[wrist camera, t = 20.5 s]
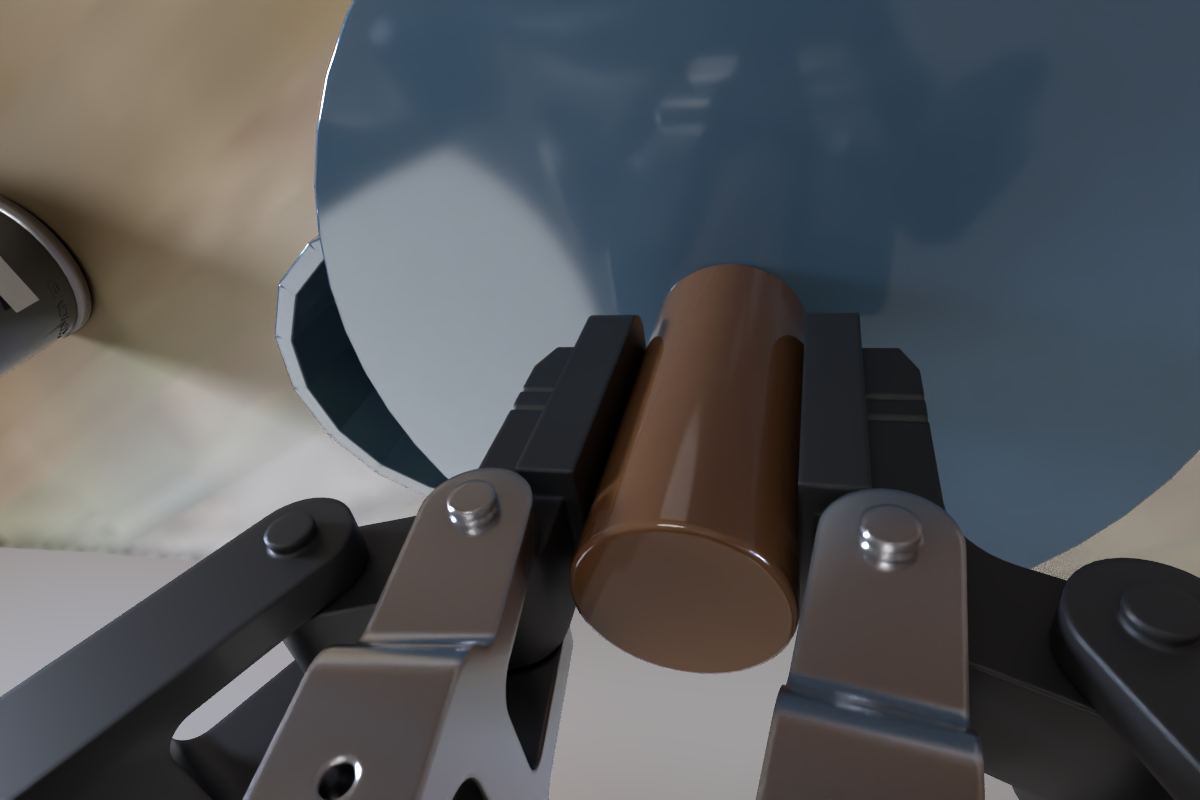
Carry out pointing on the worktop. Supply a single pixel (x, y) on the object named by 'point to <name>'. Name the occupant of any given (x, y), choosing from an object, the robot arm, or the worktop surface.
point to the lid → (776, 260)
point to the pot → (341, 377)
